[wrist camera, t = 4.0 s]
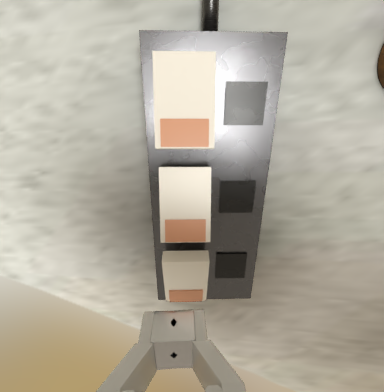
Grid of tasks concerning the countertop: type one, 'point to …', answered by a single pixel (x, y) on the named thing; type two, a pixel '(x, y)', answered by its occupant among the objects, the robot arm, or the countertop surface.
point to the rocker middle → (185, 204)
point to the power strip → (223, 145)
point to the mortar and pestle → (381, 67)
